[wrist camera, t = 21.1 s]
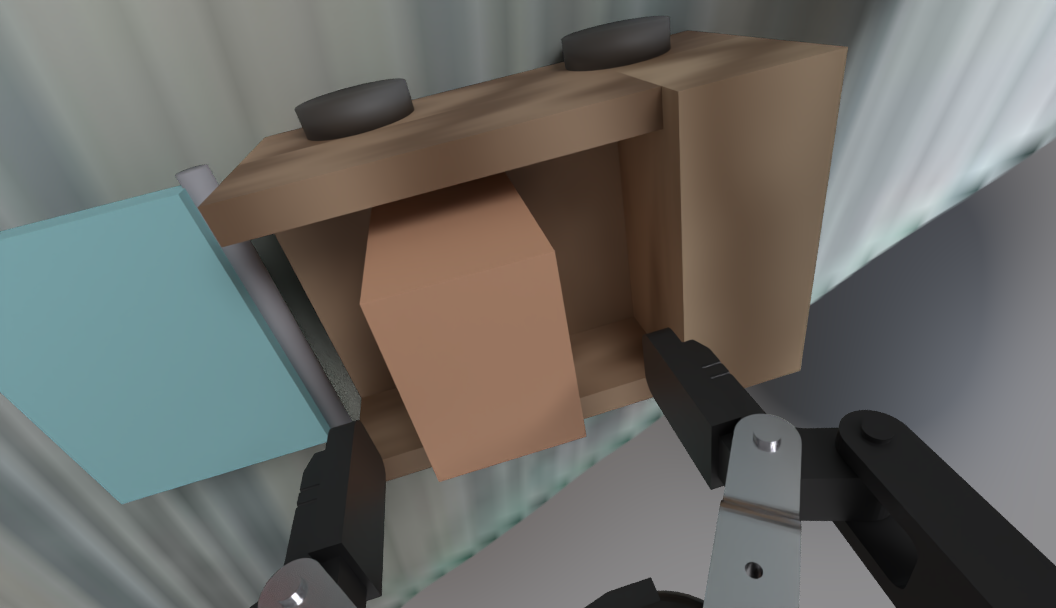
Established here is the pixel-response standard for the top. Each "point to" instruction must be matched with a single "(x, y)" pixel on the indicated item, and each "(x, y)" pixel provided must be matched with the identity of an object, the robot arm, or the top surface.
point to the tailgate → (155, 344)
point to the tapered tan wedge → (472, 324)
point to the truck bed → (578, 199)
